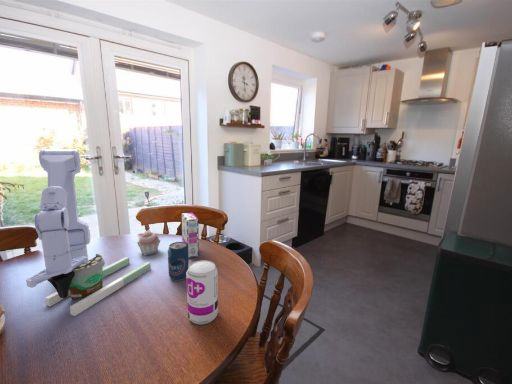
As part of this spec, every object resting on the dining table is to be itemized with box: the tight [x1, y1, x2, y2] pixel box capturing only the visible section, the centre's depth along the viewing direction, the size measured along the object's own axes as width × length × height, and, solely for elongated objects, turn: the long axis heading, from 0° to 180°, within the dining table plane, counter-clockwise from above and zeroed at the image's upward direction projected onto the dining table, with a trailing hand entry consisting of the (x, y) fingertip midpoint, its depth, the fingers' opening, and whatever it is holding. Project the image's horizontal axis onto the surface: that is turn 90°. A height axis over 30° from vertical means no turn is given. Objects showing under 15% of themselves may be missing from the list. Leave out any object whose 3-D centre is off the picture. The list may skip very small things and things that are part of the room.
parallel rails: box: [44, 256, 152, 317], centre depth 84 cm, size 12×28×2 cm, turn 159°
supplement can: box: [186, 260, 219, 325], centre depth 69 cm, size 8×8×15 cm
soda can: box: [167, 241, 190, 282], centre depth 89 cm, size 7×7×12 cm
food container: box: [69, 253, 106, 300], centre depth 79 cm, size 12×6×10 cm, turn 169°
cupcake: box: [136, 229, 162, 256], centre depth 107 cm, size 9×9×10 cm
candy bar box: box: [181, 212, 200, 259], centre depth 108 cm, size 11×5×16 cm, turn 27°
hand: (63, 296), depth 72 cm, fingers closed
